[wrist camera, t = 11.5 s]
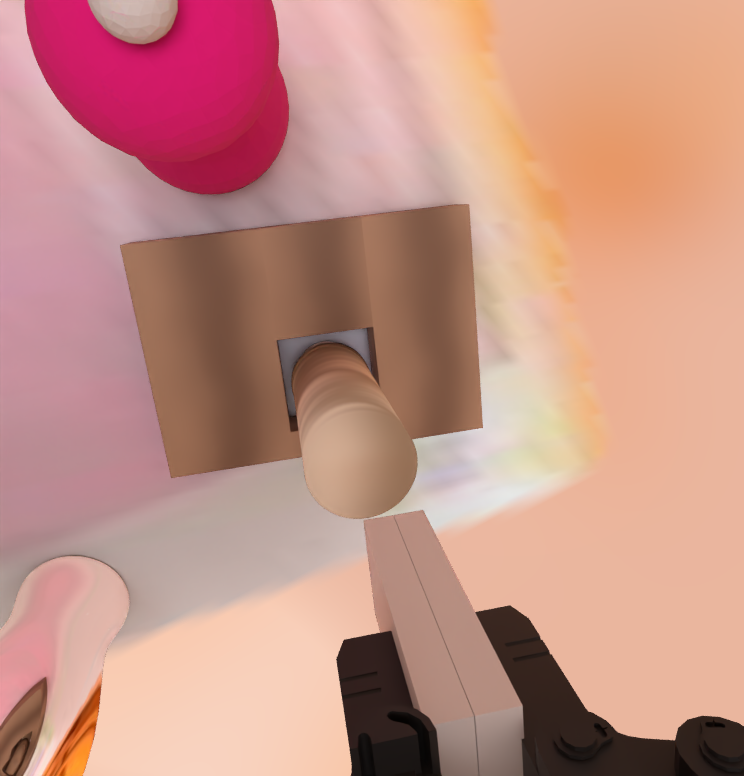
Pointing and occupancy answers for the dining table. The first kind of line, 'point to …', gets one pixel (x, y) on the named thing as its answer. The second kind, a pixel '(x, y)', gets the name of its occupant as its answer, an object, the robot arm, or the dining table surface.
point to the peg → (349, 434)
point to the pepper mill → (170, 82)
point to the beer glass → (56, 665)
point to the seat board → (303, 326)
